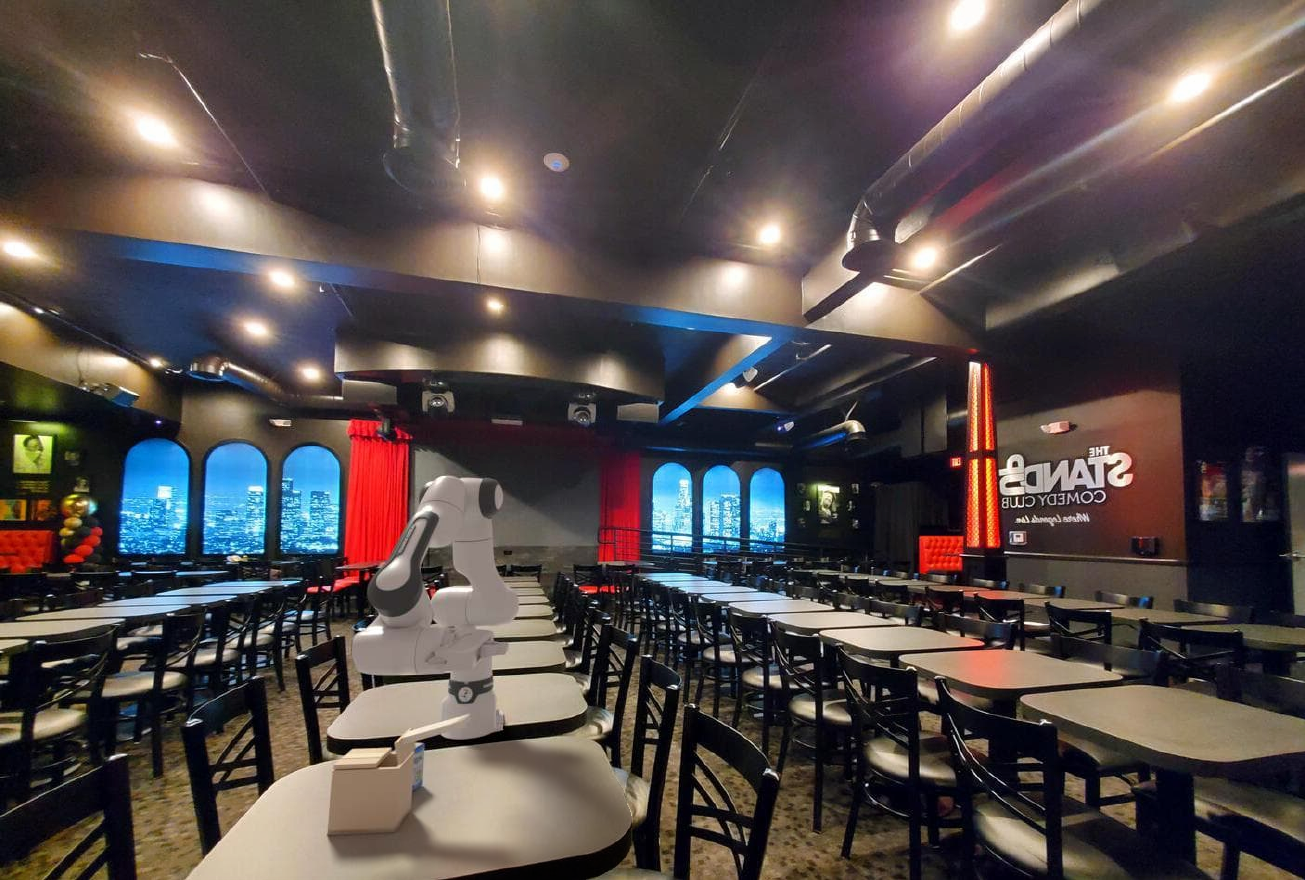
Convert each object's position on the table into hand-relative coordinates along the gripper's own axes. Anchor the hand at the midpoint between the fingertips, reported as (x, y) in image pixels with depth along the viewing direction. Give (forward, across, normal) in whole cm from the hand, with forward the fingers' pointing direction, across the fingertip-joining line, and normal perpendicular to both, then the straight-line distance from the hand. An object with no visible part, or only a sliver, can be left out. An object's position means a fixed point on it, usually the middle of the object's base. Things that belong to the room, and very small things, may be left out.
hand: (507, 648), depth 111 cm
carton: (-24, -1, +31) cm, 40 cm away
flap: (-19, 0, +18) cm, 26 cm away
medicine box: (-23, +11, +32) cm, 41 cm away
